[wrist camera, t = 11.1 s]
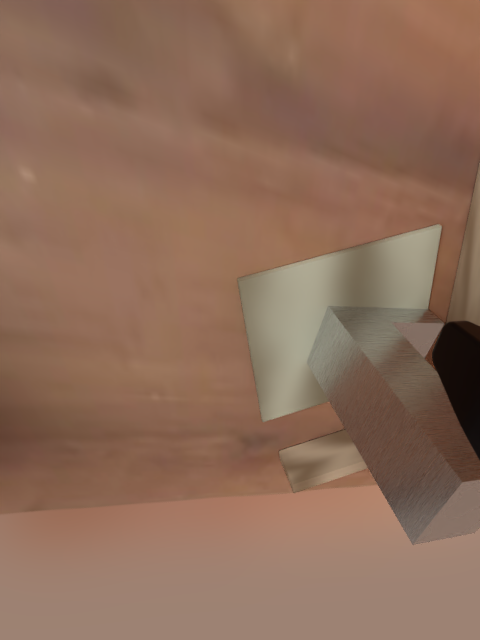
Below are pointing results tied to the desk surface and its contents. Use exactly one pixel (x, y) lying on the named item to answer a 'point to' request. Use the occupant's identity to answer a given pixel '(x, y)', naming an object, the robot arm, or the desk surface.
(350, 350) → the block
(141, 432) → the desk surface
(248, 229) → the desk surface
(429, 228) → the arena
